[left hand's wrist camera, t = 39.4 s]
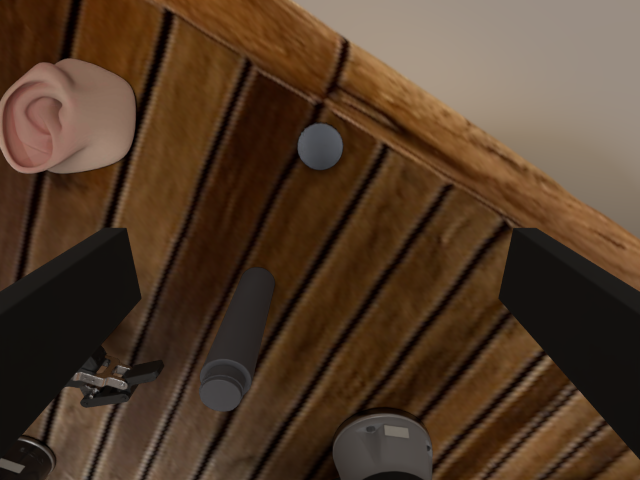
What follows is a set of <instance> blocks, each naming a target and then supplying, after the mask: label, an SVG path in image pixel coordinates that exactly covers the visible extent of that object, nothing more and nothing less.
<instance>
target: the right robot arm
mask: <svg viewBox="0 0 640 480" xmlns="http://www.w3.org/2000/svg"><path fill="white" fill-rule="evenodd" d="M106 354H107V353H106V351H105V350H104V348H103V347H102V346H101V345H100V346H99V347H98V349H97V350H96V351H95V352H94V353H93V354H92V355H91V357H90V358H89V359H88V360H87V361H86V362H85V363H84V365H83V366H82V367H81V368H80V369H79V370H78V371H77V373H76V374H75V375H74V376H73V377H72V378H71V379H70V381H69V382H68V383H67V384H66V385H65V386H64V387H75V388H80V390H81V391H82V393H83V395H84V398H83V399H82V400H81V402H80V404H81V405H82V406H83V407H86V408H87V407H94V406H101V405H108V404H115V403H122V402H127V401H128V400H129V399H130V397H131V396H132V394H133V393H134V391H135V389H136V388H137V386H138V384H140V383H145V382H150V381H154V380H155V379H156V378H157V377H158V375H159V374H160V372H161V371H162V369H163V367H164V364H163V362H162V360H158V361H153V362H148V363H143V364H139V365H134V367H131V366H128V365H125V364H122V363H120V360H119V359H117V358H114V357H111V356H108V355H106ZM102 365H103V366H106V367H107V368H106V370H105V371H104V372H103V373H101V374H97V373H96V372H97V371H98V370H99V368H100V367H101V366H102ZM114 373H118V374H121V375H123V376H122V377H118V376H114V375H113V374H114ZM64 387H63V388H64ZM54 467H55V457H54V455H53V453H52V452H51V450H50V449H49V448H48V447H46V446H45V445H44V444H42V443H41V442H39V441H37V440H35V439H32V438H29V437H25V436H20V438H19V439H18V440H17V441H16V442H15V443H14V444H13V446H12V447H11V448H10V449H9V450H8V451H7V452H6V454H5V455H4V456H3V457H2V458H1V459H0V480H45V479H46V477H47V476H48V475H49V474H50V473H51V471H52V470H53V469H54Z"/></svg>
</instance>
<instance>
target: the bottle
mask: <svg viewBox="0 0 640 480" xmlns="http://www.w3.org/2000/svg"><path fill="white" fill-rule="evenodd" d="M274 286H275V280H274V278H273V276H272V274H271V273H270V272H269V271H267V270H266V269H263V268H259V267H255V268H250V269H248V270H247V271H245V272H244V273H243V275H242V277H241V279H240V282H239V284H238V286H237V289H236V291H235V293H234V296H233V298H232V300H231V303H230V305H229V307H228V310H227V312H226V314H225V317H224V319H223V321H222V324H221V326H220V328H219V331H218V333H217V335H216V338H215V340H214V342H213V345H212V347H211V349H210V351H209V354H208V356H207V358H206V361H205V363H204V365H203V368H202V370H201V373H200V381H201V386H200V388H199V395H200V398H201V400H202V402H203V403H204V404H205V405H206V406H207V407H209V408H211V409H213V410H216V411H230V410H233V409H234V408H235V407H236V406H237V405H238V404H239V403H240V401H241V399H242V397H243V395H244V394H245V393H246V392H247V391H248V390H249V388H250V386H251V383H252V379H253V375H254V370H255V366H256V362H257V358H258V354H259V349H260V345H261V341H262V337H263V333H264V328H265V324H266V320H267V316H268V312H269V307H270V303H271V299H272V295H273V291H274Z"/></svg>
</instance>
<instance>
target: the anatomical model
mask: <svg viewBox="0 0 640 480" xmlns="http://www.w3.org/2000/svg"><path fill="white" fill-rule="evenodd" d="M135 123H136V104H135V96H134V93H133V90H132V88H131V86H130V85H129V84H128V83H127V82H126V81H125V80H124V79H122V78H121V77H119V76H118V75H116V74H114V73H112V72H110V71H108V70H105V69H103V68H101V67H99V66H97V65H94V64H91V63H88V62H84V61H81V60H77V59H64V60H62V61H60V62H58V63H56V64H55V65H53V64H51V63H39V64H37V65H35V66H34V67H33V68H32V69H31V70H30V71H28V72H27V73H26V74H25V75H24V76H23V77H21V78H20V79H19V80H18V81H17V82H15V83H14V84H13V85H12V86H11V87H10V88H9V89H8V90H7V92H6V93H5V94H4V96H3V97H2V99H1V101H0V147H1V150H2V152H3V154H4V156H5V158H6V159H7V161H8V163H9V164H10V165H11V166H12V167H13V168H14V169H15V170H17V171H19V172H22V173H38V172H42V171H45V170H48V171H51V172H54V173H75V172H82V171H87V170H92V169H96V168H101V167H104V166H107V165H110V164H113V163H115V162H117V161H119V160H120V159H122V158H123V157H124V156H125V155H126V154H127V152H128V151H129V149H130V147H131V144H132V141H133V138H134V132H135Z"/></svg>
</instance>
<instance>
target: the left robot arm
mask: <svg viewBox="0 0 640 480" xmlns="http://www.w3.org/2000/svg"><path fill="white" fill-rule="evenodd" d="M140 300H141V293H140V289H139V284H138V279H137V275H136V270H135V265H134V261H133V256H132V251H131V247H130V242H129V237H128V233H127V228H103V229H101V230H100V231H98V232H96V233H95V234H93V235H92V236H90V237H88V238H87V239H85V240H83V241H82V242H80V243H79V244H77V245H75V246H74V247H72V248H70V249H69V250H67V251H66V252H64V253H62V254H61V255H59V256H57V257H56V258H54V259H53V260H51V261H49V262H48V263H46V264H44V265H43V266H41V267H40V268H38V269H36V270H35V271H33V272H32V273H30V274H28V275H27V276H25V277H23V278H22V279H20V280H19V281H17V282H15V283H14V284H12V285H10V286H9V287H7V288H6V289H4V290H2V291H1V292H0V459H1V458H2V457H3V456H4V455H5V454H6V452H7V451H8V450H9V449H10V448H11V447H12V446H13V444H14V443H15V442H16V441H17V440H18V439H19V438H20V436H21V435H22V434H23V433H24V432H25V431H26V430H27V429H28V427H29V426H30V425H31V424H32V423H33V422H34V421H35V419H36V418H37V417H38V416H39V415H40V414H41V413H42V411H43V410H44V409H45V408H46V407H47V406H48V405H49V403H50V402H51V401H52V400H53V399H54V398H55V397H56V395H57V394H58V393H59V392H60V391H61V390H62V389H63V387H64V386H65V385H66V384H67V383H68V382H69V381H70V379H71V378H72V377H73V376H74V375H75V374H76V373H77V371H78V370H79V369H80V368H81V367H82V366H83V365H84V363H85V362H86V361H87V360H88V359H89V358H90V357H91V355H92V354H93V353H94V352H95V351H96V350H97V349H98V347H99V346H100V345H101V344H102V343H103V342H104V341H105V340H106V338H107V337H108V336H109V335H110V334H111V333H112V332H113V330H114V329H115V328H116V327H117V326H118V325H119V324H120V322H121V321H122V320H123V319H124V318H125V317H126V316H127V314H128V313H129V312H130V311H131V310H132V309H133V308H134V306H135V305H136V304H137V303H138V302H139V301H140ZM499 300H500V301H501V302H502V303H503V304H504V305H505V306H506V308H507V309H508V310H509V311H510V312H511V313H512V314H513V316H514V317H515V318H516V319H517V320H518V321H519V322H520V324H521V325H522V326H523V327H524V328H525V329H526V330H527V332H528V333H529V334H530V335H531V336H532V337H533V338H534V340H535V341H536V342H537V343H538V344H539V345H540V346H541V347H542V349H543V350H544V351H545V352H546V353H547V354H548V355H549V357H550V358H551V359H552V360H553V361H554V362H555V363H556V365H557V366H558V367H559V368H560V369H561V370H562V371H563V373H564V374H565V375H566V376H567V377H568V378H569V379H570V381H571V382H572V383H573V384H574V385H575V386H576V387H577V389H578V390H579V391H580V392H581V393H582V394H583V395H584V397H585V398H586V399H587V400H588V401H589V402H590V403H591V405H592V406H593V407H594V408H595V409H596V410H597V411H598V413H599V414H600V415H601V416H602V417H603V418H604V419H605V421H606V422H607V423H608V424H609V425H610V426H611V427H612V429H613V430H614V431H615V432H616V433H617V434H618V435H619V436H620V438H621V439H622V440H623V441H624V442H625V443H626V444H627V446H628V447H629V448H630V449H631V450H632V451H633V452H634V454H635V455H636V456H637V457H638V458H639V459H640V292H639V291H638V290H636V289H634V288H633V287H631V286H630V285H628V284H626V283H625V282H623V281H621V280H620V279H618V278H617V277H615V276H613V275H612V274H610V273H608V272H607V271H605V270H604V269H602V268H600V267H599V266H597V265H596V264H594V263H592V262H591V261H589V260H587V259H586V258H584V257H583V256H581V255H579V254H578V253H576V252H574V251H573V250H571V249H570V248H568V247H566V246H565V245H563V244H561V243H560V242H558V241H557V240H555V239H553V238H552V237H550V236H548V235H547V234H545V233H544V232H542V231H540V230H539V229H537V228H513V233H512V237H511V242H510V247H509V251H508V256H507V261H506V265H505V270H504V275H503V279H502V284H501V289H500V293H499ZM333 459H334V463H335V466H336V468H337V470H338V472H339V475H340V477H339V478H336V479H333V480H432V444H431V440H430V437H429V434H428V431H427V429H426V427H425V426H424V424H423V423H422V422H421V421H420V420H419V419H418V418H416V417H415V416H413V415H411V414H409V413H407V412H404V411H401V410H397V409H391V408H377V409H371V410H366V411H363V412H360V413H358V414H356V415H354V416H352V417H350V418H349V419H347V420H346V421H345V422H344V423H343V424H342V425H341V426H340V427H339V428H338V430H337V431H336V433H335V435H334V438H333Z"/></svg>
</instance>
